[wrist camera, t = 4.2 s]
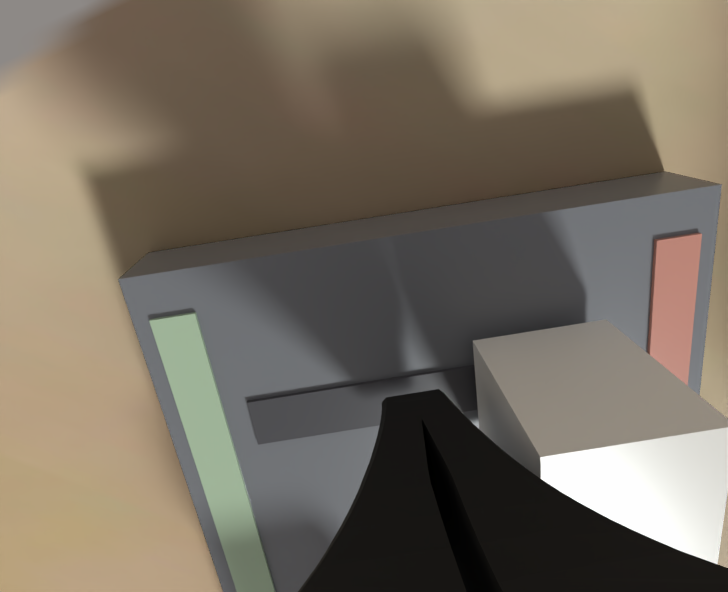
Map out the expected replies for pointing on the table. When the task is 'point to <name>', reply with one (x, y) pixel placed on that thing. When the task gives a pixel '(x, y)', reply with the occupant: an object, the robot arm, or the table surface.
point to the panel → (390, 338)
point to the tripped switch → (608, 430)
